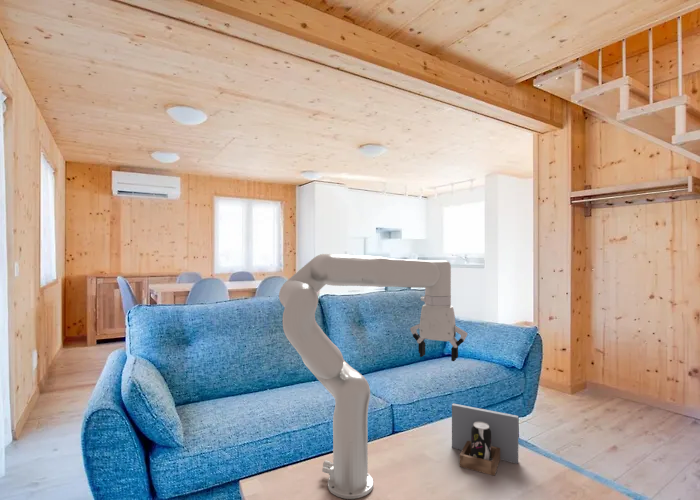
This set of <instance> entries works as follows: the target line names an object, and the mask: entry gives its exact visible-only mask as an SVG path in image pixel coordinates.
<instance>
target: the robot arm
mask: <svg viewBox="0 0 700 500" xmlns="http://www.w3.org/2000/svg"><path fill="white" fill-rule="evenodd" d="M451 269H452V266H451V262H450V261H448V260H444V259H443V260H440V259H438V260H437V259H435V260H431V259H430V260H427V259H426V260H424V259H399V258H391V257H390V258H389V257H384V256H376V255H375V256H374V255H357V254H356V255H354V254H353V255H351V254H334V253H333V254H330V253H322V254H318V255H316V256H314V257H313V258H312V259H311V260H310V261H308V262H307V263H306V264H305V265H304V266H302V267H301V268H300V269H299V270H298V271H297V272H295V273H294V274H293V275H292V276H291V277H289V278H288V279H287V280H286V281H285V282H284V283H283V284H282V286H281V287H280V289H279V293H278V299H279V302H280V303H281V305H282V306H283V308H284V309H283V313H282V329H283V332H284V333H283V334H284V335H285V337H286V339H287V340H288V341H289V343H290V344H291V346H292V347H293V348H294V349H295V351H296V352H297V353H298V354H299V356H300V357H301V361H302V362H303V363H304V365H305V366H306V368H307V369H308V370H309V371H310V372H311V373H312V374H313V375H314V377H315V378H316V379H317V380H318V381H319V382H320V384H322V386H323V387H324V388H325V389H326V390H327V392H328V393H330V394H331V396H332V397H333V398H334V401H335V405H334V410H333V417H332V441H333V442H332V448H333V449H332V450H333V451H332V454H333V455H332V458H333V459H332V462H331V461H329V460H326V459H325V460H324V461H323V464H322V469H321V471H322V473H325V474H328V475H329V477H328V479H327V489H328V491H329V492H330V493H331V494H332V495H334V496H335V497H338V498H341V499H347V500H354V499H360V498H363V497H365V496H367V495H368V494H370V493H371V491H372V490H373V489H374V480H373V477H372V476H371V475H370V473H368V471H369V469H368V468H369V467H368V463H369V462H368V454H369V453H368V448H369V447H368V445H369V444H368V443H369V442H368V440H369V439H368V438H369V437H368V434H369V433H368V414H369V413H368V412H369V404H370V398H371V388H370V384H369V382H368V380H367V379H366V377H365V376H364V375H362V373H360V372H359V371H358V370H356V369H355V368H354V367H352V366H351V365H350V364H349V363H348V362H346V360H345V359H344V356H343V353H342V352H341V349H339V347H338V346H337V345H336V344H335V343H333V342H332V340H331V339H330V338H329V337H328V335H327V334H326V333H325V332H324V331H323V329H322V328H321V327H320V325H319V324H318V322H317V321H316V317H315V316H316V310H317V307H318V304H319V295H318V292H319V291H321V290H322V289H323V288H324V287H325V286H326V285H327V286H335V287H336V286H337V287H338V286H339V287H341V286H342V287H344V286H345V287H351V286H352V287H355V286H356V287H376V288H377V287H378V288H384V287H385V288H386V287H387V288H389V287H395V288H418V289H419V288H420V289H421V288H422V289H423V288H424V289H425V291H424V293H425V294H424V296H421V297H420V301H421V302H424V304H422V306H421V311H420V312H421V313H420V321H419V323H418V324H416V325H414V326H411V327H410V328H409V330H410V332H411V334H412V337H413V338H414V339H415V341H416V343H417V345H418V346H417V347H418V354H419V357H420V358H423V357H424V356H425V355H426V342H425V340H431V341H440V342H441V341H442V342H449V343H450V344H451V346H452V347H451V349H450V351H451V352H450V357H451V359H450V360H451V362H455V361H456V360H457V359H458V358H459V346H461V344H463V343H464V342H465V340H466V338H467V336H468V332H466V331H465V330H463V329H461V328H460V327H459V326H456V317H455V310H454V306H453V305H452V299H451V297H452V295H451V294H452V293H451V292H452V288H451V287H452V284H451V283H452V280H451V279H452V270H451ZM418 329H419V333H418ZM457 334H459V335H460V338H459V339H458V340H457V338H456V335H457Z"/></svg>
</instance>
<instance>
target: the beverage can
mask: <svg viewBox="0 0 700 500" xmlns="http://www.w3.org/2000/svg"><path fill="white" fill-rule="evenodd" d="M470 456H473V457H477V458H481V459H485V460H489V461H492V459H491V430H490V428H489V425H488V424H487V423H484V422H475V423H474V424H473V427H472V428H471V454H470Z"/></svg>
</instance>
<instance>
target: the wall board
mask: <svg viewBox="0 0 700 500" xmlns="http://www.w3.org/2000/svg"><path fill="white" fill-rule="evenodd" d="M475 422H484V423H487V424H488V425H489V428H490V430H491V446H493V447H497V448H500V461H505V462H508V463H512V462H513V463H512V464H516V465H517V464H519V415H515V414H511V413H510V414H509V413H507V412H505V413H504V412H501V411H500V412H499V411H495V410H490V409H485V408H481V407H480V408H478V407H473V406H468V405H465V404H464V405H463V404H460V403H459V404H458V403H452V404H451V448H452V449H456V450H460V451H462V450H463V448H464V446H465V444H466V442H467V441H471V428H472V427H473V424H474V423H475Z"/></svg>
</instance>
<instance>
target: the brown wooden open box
mask: <svg viewBox="0 0 700 500" xmlns="http://www.w3.org/2000/svg"><path fill="white" fill-rule="evenodd" d="M500 461H501V460H500V448H497V447H493V446H491V461H489V460H485V459H481V458H477V457H473V456H471V441H467V442H466V444H465V446H464V448H463V450H461V452H460V454H459V467H460V468H464V469H468V470H471V471H476V472H478V473H482V474H486V475H489V476H492V477H493V476H494V477H495V476H496V473H497V471H498V469H499V468H498V467H499V464H500Z"/></svg>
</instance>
